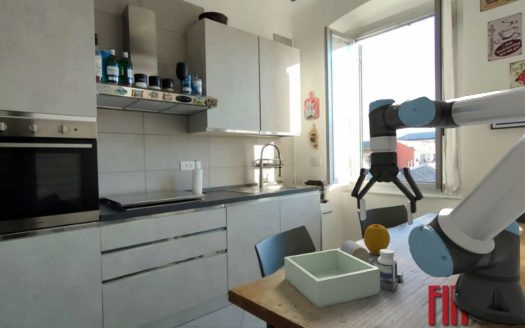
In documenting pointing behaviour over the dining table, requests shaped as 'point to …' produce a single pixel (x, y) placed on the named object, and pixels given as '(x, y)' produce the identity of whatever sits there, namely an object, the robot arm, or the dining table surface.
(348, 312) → the dining table surface
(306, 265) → the bin
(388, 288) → the bracket
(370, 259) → the ceramic mug
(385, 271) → the pill bottle
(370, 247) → the orange
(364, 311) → the dining table surface
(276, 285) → the dining table surface
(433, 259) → the robot arm
